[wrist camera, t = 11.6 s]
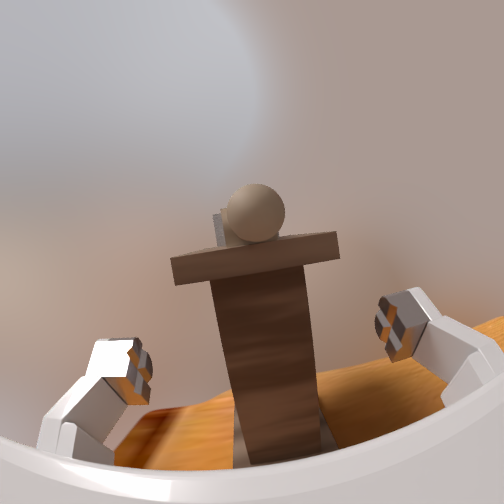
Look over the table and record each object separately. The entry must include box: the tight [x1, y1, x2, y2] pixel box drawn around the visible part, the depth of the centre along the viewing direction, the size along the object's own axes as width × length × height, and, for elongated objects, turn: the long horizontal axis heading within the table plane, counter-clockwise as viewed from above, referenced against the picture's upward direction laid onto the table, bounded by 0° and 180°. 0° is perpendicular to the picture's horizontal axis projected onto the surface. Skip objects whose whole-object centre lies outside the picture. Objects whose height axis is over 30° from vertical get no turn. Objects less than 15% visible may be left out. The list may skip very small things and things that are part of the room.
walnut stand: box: [170, 231, 340, 469], centre depth 30 cm, size 20×12×26 cm, turn 2°
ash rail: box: [221, 184, 285, 248], centre depth 25 cm, size 26×4×3 cm, turn 2°
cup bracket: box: [213, 214, 279, 247], centre depth 37 cm, size 5×8×4 cm, turn 92°
